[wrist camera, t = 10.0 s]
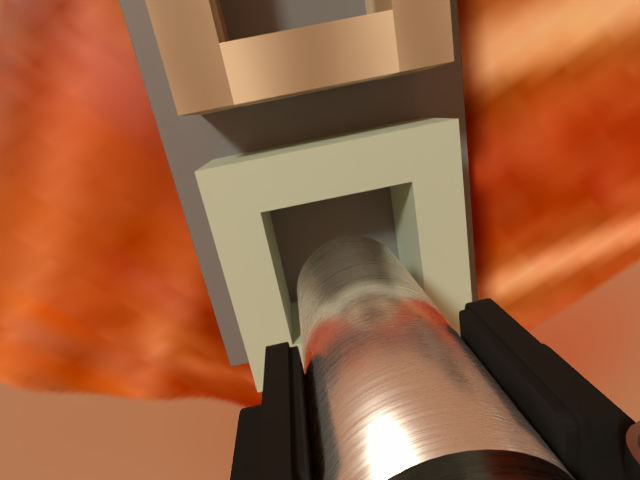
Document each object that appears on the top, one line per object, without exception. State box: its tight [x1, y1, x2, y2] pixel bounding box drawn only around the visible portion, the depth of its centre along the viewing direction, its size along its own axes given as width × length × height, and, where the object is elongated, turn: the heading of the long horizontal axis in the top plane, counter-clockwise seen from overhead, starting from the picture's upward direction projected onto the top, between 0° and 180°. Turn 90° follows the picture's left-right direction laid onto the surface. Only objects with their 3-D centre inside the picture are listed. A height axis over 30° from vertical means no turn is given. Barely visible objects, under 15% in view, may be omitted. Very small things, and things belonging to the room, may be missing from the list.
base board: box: [119, 0, 478, 366], centre depth 19 cm, size 14×24×2 cm, turn 11°
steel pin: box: [297, 236, 575, 480], centre depth 10 cm, size 4×4×11 cm
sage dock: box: [195, 117, 472, 392], centre depth 18 cm, size 10×10×4 cm
